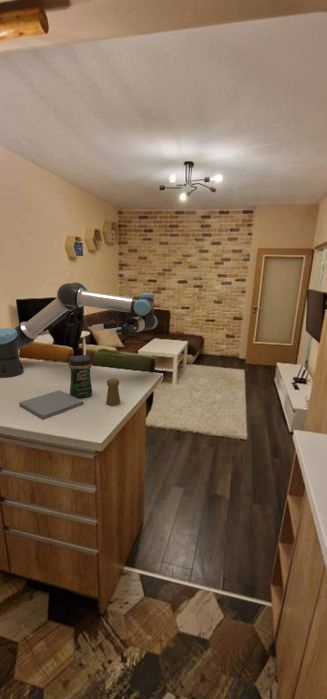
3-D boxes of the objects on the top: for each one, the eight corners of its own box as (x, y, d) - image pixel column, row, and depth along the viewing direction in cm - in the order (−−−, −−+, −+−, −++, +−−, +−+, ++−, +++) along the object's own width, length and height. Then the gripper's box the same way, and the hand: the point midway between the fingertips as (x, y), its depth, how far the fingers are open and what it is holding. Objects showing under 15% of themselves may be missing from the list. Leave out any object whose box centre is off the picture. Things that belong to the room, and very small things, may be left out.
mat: (19, 405, 127) (19, 402, 127) (59, 393, 141) (59, 390, 141) (43, 419, 116) (42, 415, 116) (83, 404, 130) (83, 401, 130)
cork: (106, 400, 135) (106, 376, 133) (120, 400, 136) (120, 376, 133) (105, 406, 129) (105, 381, 127) (120, 405, 130) (119, 381, 127)
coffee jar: (72, 400, 134) (70, 359, 130) (68, 393, 141) (66, 354, 137) (94, 396, 139) (93, 357, 134) (89, 390, 145) (88, 352, 141)
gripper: (151, 335, 152) (119, 342, 136) (117, 328, 167) (85, 334, 150) (151, 320, 150) (118, 325, 134) (117, 315, 165) (84, 319, 149)
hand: (100, 330), depth 142 cm, fingers open, 12 cm apart
